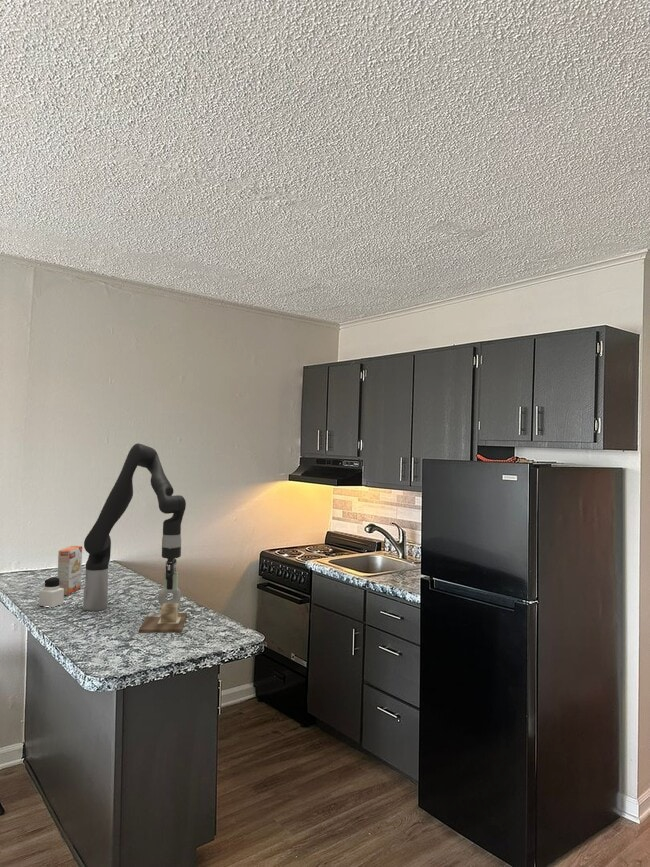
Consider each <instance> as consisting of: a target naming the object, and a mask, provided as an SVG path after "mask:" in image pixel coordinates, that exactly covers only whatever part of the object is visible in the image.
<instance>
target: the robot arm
mask: <svg viewBox="0 0 650 867" xmlns="http://www.w3.org/2000/svg"><path fill="white" fill-rule="evenodd" d="M138 467H140V468H146V469H147V471H149V473H150V475H151V476H150V486H151V488H152V489H153V492H154V494H155V495H156V498H157V503H158V508H159V511H160V512H161V513H163V514H164V515H166V514H172V516H171V517H169V518H168V519H167V518H166V519H165V520H163V522H162V537H161V558H163V559H167V561H165V572H166V580H167V589H168V590H172V588H173V574H175V572H177V562H178V561H177V559H179V558H181V556H182V534H181V531H182V530H181V529H182V521H183V517H184V515H185V511H186V507H187V502H186V498H185V497H184V496H182V495H179V494H178V495H177V494H176V495H173V494H174V488H173V486H172V485H171V484H172V483H170V481H169V479H168V478H167V475H166V474H165V471H164V468H163V466H162V463H161V461H160V457H159V454H158V453H157V451H156V449H154V448H153V447H150V446H148V445H145V444H143V443H142V444H141V443H140V442H139V443H135V444H133V446H132V447H131V448H130V450H129V451H128V454H127V456H126V458H125V461H124V462H123V465H122V468H121V471H120V473H119V475H118V477H117V479H116V481H115V483H114V485H113V487H112V488H111V491H110V492H109V494H108V496H107V498H106V499H105V503H104V505H103V507H102V508H101V510H100V512H99V515H98V518H97V519H96V521H95V523H94V525H93V526H92V528H90V531H89V532H88V533H87V535H86V537H85V538H84V542H83V547H84V550H85V552H87V553H88V558H87V561H86V562H85V582H84V587H83V599H82V600H83V601H82V602H83V604H82V605H83V606H82V610H83V611H88V610H89V611H88V612H97V611H102V610H103V611H104V610H106V609H107V608H108V597H109V596H108V593H109V591H108V590H109V589H108V588H109V565H110V560H111V552H112V551H111V548H112V540H111V535H110V534H111V532H112V530H113V527H114V526H115V524H116V523H117V522H118V521H119V520H120V519H121V517H122V516H123V515H124V513H125V512H126V510H127V509H128V507H129V504H130V503H131V501H132V499H133V495H134V487H133V486H134V485H133V478H134V474H135V472H136V470H137V468H138ZM168 574H171V576H168Z"/></svg>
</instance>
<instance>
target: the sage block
mask: <svg viewBox="0 0 650 867" xmlns="http://www.w3.org/2000/svg"><path fill="white" fill-rule="evenodd" d="M168 576H171V574H168ZM163 587H164V590H168V589H167V580H166V571H165V572H164V573H163ZM177 588H179V572H178V571H176V572H175V574H173V588H172V590H177Z"/></svg>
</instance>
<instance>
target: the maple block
mask: <svg viewBox="0 0 650 867" xmlns="http://www.w3.org/2000/svg"><path fill="white" fill-rule="evenodd" d="M160 613H161V623H172V622H176V621H177V619H178V613H179V603H163V605H161V607H160Z"/></svg>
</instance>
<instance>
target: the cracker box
mask: <svg viewBox="0 0 650 867" xmlns="http://www.w3.org/2000/svg"><path fill="white" fill-rule="evenodd" d="M57 556H58V557H57V559H58V560H57V578H59V579H60V583H59V588H64V595H68V596H70V595H71V594H70V593H72V592H74V591H75V592H77V591H78V590H77V589H79V588H80V589H81V588H82V587H81V586H82V585H81V584H82V583H81V582H82V563H83V546H82V545H70V546H68V547H65V548H62V549H60V550H58V555H57ZM80 589H79V590H80ZM76 590H77V591H76ZM75 592H74V593H75ZM69 594H70V595H69ZM72 594H73V593H72Z"/></svg>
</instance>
